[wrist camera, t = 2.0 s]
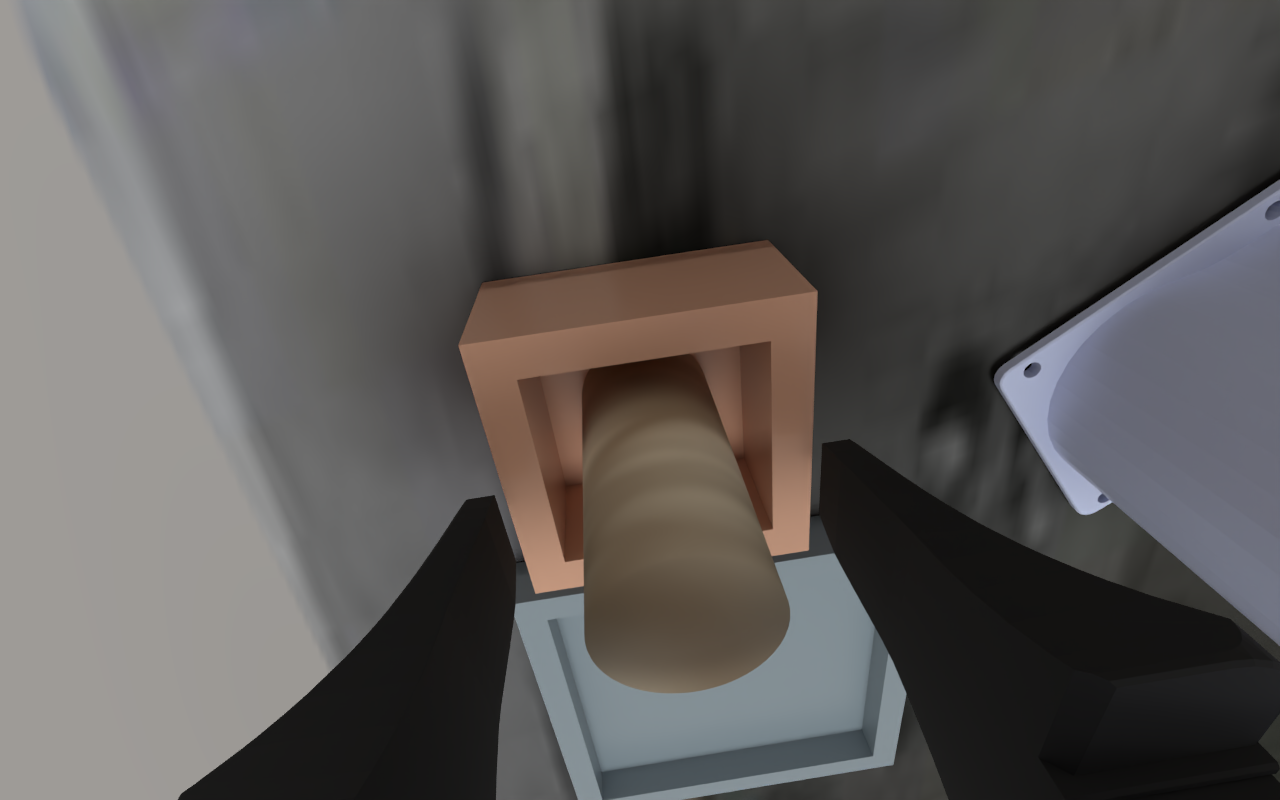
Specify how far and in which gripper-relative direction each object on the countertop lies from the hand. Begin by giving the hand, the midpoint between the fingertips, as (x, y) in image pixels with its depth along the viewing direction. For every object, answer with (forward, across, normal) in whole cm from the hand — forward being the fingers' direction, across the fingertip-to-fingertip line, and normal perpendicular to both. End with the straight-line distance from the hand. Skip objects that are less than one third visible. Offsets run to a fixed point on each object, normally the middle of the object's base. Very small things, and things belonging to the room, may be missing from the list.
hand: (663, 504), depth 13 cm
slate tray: (+5, -2, +13) cm, 14 cm away
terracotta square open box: (+5, 0, 0) cm, 5 cm away
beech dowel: (+5, 0, 0) cm, 5 cm away
